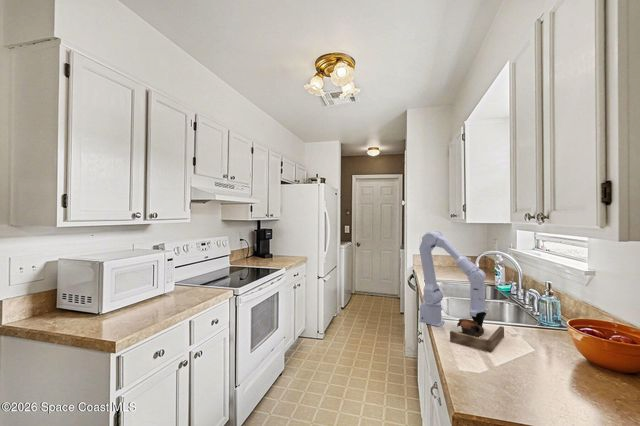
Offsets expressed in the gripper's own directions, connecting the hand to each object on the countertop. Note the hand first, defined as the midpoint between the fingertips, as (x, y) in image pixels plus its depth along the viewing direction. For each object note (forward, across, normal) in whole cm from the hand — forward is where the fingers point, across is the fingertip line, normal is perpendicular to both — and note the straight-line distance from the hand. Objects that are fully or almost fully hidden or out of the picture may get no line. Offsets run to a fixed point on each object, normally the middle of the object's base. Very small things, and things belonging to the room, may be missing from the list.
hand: (478, 329), depth 129 cm
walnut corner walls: (+2, -7, -1) cm, 7 cm away
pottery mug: (+2, -6, +1) cm, 7 cm away
